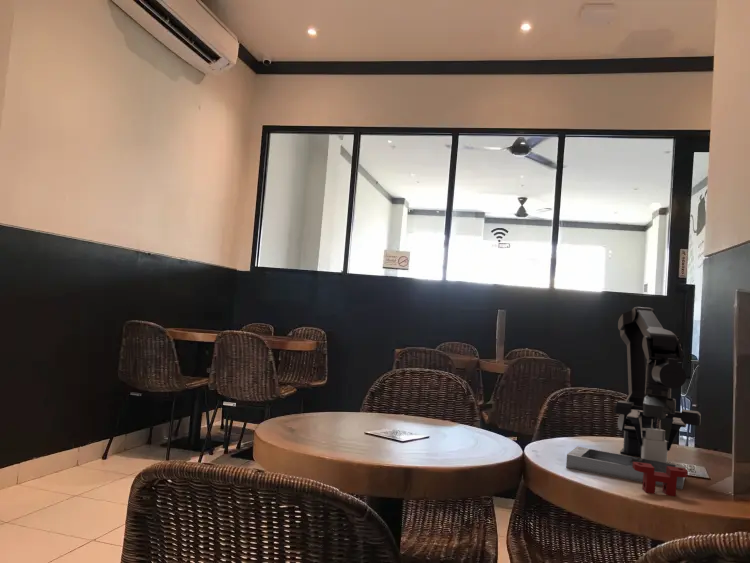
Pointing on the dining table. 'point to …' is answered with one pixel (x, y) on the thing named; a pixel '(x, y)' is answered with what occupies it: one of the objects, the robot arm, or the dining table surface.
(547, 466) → the dining table surface
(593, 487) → the dining table surface
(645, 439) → the power adapter
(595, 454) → the grey rectangular tray
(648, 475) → the bracket
